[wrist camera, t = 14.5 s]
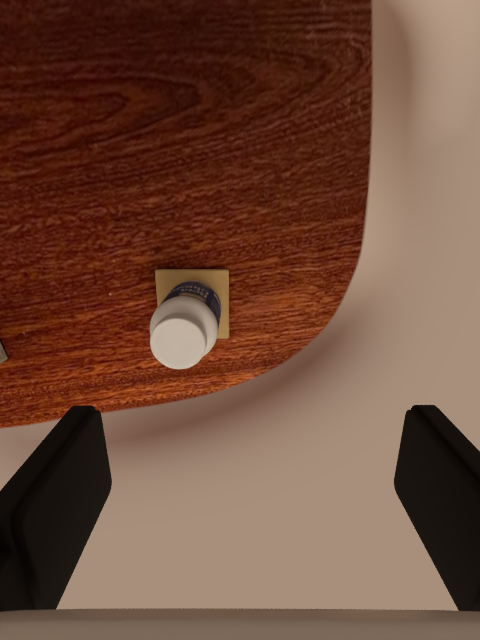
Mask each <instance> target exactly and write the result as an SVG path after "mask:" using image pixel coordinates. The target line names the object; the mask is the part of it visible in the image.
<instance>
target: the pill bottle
mask: <svg viewBox="0 0 480 640" xmlns="http://www.w3.org/2000/svg"><path fill="white" fill-rule="evenodd" d="M220 317H221V302H220V298H219V296H218V294H217V293H216V291H215V290H214V289H213V288H212V287H211V286H209V285H208V284H206V283H204V282H201V281H197V280H189V281H184V282H182V283H180V284H178V285H176V286H175V287H174V288H173V289H172V290H171V291H170V292H169V294H168V295H167V296H166V297H165V299H164V300H163V301H162V303H161V304H160V305H159V306H158V308H157V309H156V310H155V312H154V314H153V316H152V319H151V322H150V334H151V338H150V346H151V350H152V352H153V354H154V356H155V357H156V359H157V360H158V361H159V362H161V363H162V364H163V365H165V366H167V367H170V368H173V369H186V368H189V367H192V366H193V365H195V364H196V363H198V362H199V361H200V359H201V358H202V357H203V356H204V355H206V354H207V353H208V352H209V351H210V350H211V349H212V347H213V346H214V344H215V342H216V339H217V335H218V329H219V324H220Z"/></svg>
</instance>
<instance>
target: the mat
mask: <svg viewBox="0 0 480 640" xmlns="http://www.w3.org/2000/svg"><path fill="white" fill-rule="evenodd" d="M155 278H156V291H157V304H158V306H159V305H160V304H161V303H162V301H163V300H164V299H165V297H166V296H167V295H168V294H169V292H170V291H171V290H172V289H173V288H174V287H175V286H176V285H178V284H180V283H182V282H184V281H189V280H197V281H201V282H204V283H206V284H208V285H209V286H211V287H212V288H213V289H214V290H215V291H216V293H217V294H218V296H219V298H220V302H221V317H220V324H219V329H218V335H217V338H229V269H156V270H155Z"/></svg>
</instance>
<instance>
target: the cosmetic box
mask: <svg viewBox="0 0 480 640" xmlns="http://www.w3.org/2000/svg"><path fill="white" fill-rule="evenodd" d="M6 359H7V356H6V353H5V351H4V349H3V347H2V345H1V342H0V363H2V362H3V361H5V360H6Z"/></svg>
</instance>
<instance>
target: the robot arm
mask: <svg viewBox="0 0 480 640" xmlns="http://www.w3.org/2000/svg"><path fill="white" fill-rule="evenodd" d="M111 485H112V479H111V473H110V467H109V461H108V454H107V449H106V442H105V436H104V430H103V423H102V417H101V413H100V411H98V410H95V408H94V406H72V407H71V408H70V409H69V410H68V412H67V413H66V414H65V415H64V416H63V417H62V419H61V420H60V421H59V422H58V423H57V425H56V426H55V427H54V428H53V429H52V430H51V432H50V433H49V434H48V435H47V436H46V438H45V439H44V440H43V441H42V442H41V444H40V445H39V446H38V447H37V448H36V450H35V451H34V452H33V453H32V454H31V455H30V457H29V458H28V459H27V460H26V461H25V462H24V464H23V465H22V466H21V467H20V468H19V469H18V471H17V472H16V473H15V474H14V475H13V477H12V478H11V479H10V480H9V481H8V482H7V484H6V485H5V486H4V487H3V488H2V490H1V491H0V640H480V451H479V450H478V449H477V448H476V447H475V446H474V445H473V444H472V443H471V442H470V441H469V440H468V439H467V438H466V437H465V436H464V435H463V434H462V433H461V432H460V431H459V429H457V427H455V425H454V424H453V423H452V422H451V421H450V420H449V419H448V418H447V417H446V416H445V415H444V414H443V413H442V412H441V411H440V410H439V409H438V408H437V407H436V406H435V405H414V406H413V407H412V408H411V410H408V411H407V412H406V415H405V420H404V426H403V432H402V437H401V443H400V449H399V455H398V461H397V466H396V472H395V478H394V486H395V490H396V493H397V495H398V497H399V499H400V501H401V503H402V505H403V506H404V508H405V510H406V512H407V514H408V516H409V518H410V520H411V522H412V523H413V525H414V527H415V529H416V531H417V533H418V535H419V537H420V538H421V540H422V542H423V544H424V546H425V548H426V550H427V552H428V553H429V555H430V557H431V559H432V561H433V563H434V565H435V567H436V568H437V570H438V572H439V574H440V576H441V578H442V580H443V582H444V584H445V585H446V587H447V589H448V591H449V593H450V595H451V597H452V599H453V601H454V603H455V604H456V606H457V608H458V610H459V611H445V610H356V609H65V610H64V609H63V610H62V609H59V610H56V608H57V606H58V604H59V601H60V599H61V597H62V595H63V593H64V591H65V589H66V586H67V584H68V582H69V580H70V578H71V575H72V573H73V571H74V569H75V567H76V564H77V562H78V560H79V558H80V556H81V554H82V552H83V549H84V547H85V545H86V543H87V541H88V539H89V536H90V534H91V532H92V530H93V528H94V526H95V524H96V521H97V519H98V517H99V515H100V512H101V511H102V508H103V506H104V504H105V502H106V500H107V498H108V495H109V493H110V490H111Z"/></svg>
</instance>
